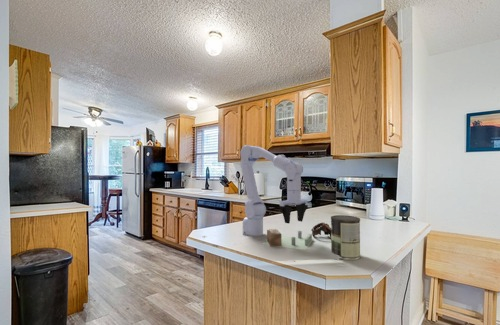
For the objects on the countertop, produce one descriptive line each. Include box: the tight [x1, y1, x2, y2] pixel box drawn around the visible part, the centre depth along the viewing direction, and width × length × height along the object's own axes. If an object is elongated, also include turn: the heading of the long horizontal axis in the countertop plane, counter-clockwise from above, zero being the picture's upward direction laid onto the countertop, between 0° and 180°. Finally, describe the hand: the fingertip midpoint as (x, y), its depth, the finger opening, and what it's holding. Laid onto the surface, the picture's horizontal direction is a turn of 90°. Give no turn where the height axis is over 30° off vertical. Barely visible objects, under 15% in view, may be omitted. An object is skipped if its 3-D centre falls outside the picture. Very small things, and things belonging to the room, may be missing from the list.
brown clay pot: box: [310, 222, 331, 238], centre depth 118 cm, size 12×10×8 cm
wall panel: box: [261, 230, 314, 251], centre depth 106 cm, size 18×18×4 cm
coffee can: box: [330, 214, 361, 261], centre depth 92 cm, size 10×10×14 cm
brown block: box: [266, 228, 282, 247], centre depth 103 cm, size 4×8×5 cm, turn 6°
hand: (293, 222), depth 106 cm, fingers open, 7 cm apart
